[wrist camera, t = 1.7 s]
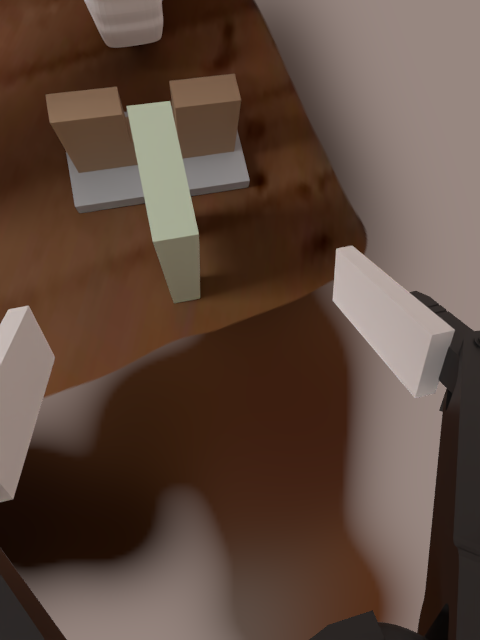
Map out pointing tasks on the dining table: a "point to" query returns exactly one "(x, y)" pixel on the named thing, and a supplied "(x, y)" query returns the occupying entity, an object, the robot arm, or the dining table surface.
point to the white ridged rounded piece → (127, 21)
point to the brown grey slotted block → (118, 147)
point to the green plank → (167, 197)
